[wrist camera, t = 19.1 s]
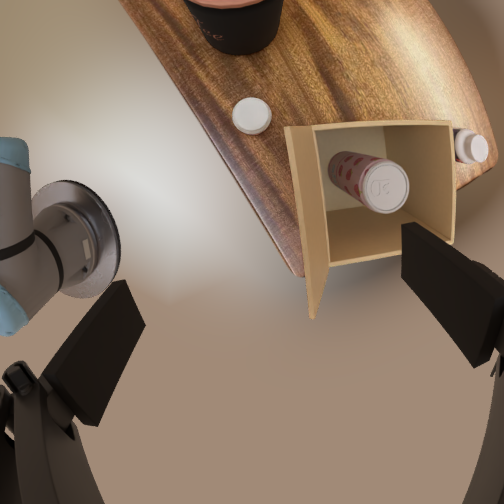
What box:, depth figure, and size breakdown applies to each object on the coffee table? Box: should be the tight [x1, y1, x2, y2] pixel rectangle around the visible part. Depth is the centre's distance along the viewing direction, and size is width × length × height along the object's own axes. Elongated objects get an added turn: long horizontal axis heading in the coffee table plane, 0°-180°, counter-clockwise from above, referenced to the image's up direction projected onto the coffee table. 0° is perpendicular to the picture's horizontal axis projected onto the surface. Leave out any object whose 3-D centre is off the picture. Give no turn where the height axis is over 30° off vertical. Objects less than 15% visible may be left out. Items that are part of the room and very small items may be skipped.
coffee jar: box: [184, 0, 284, 55], centre depth 23 cm, size 11×11×18 cm
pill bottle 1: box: [232, 97, 272, 135], centre depth 33 cm, size 5×5×8 cm
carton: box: [311, 120, 456, 267], centre depth 31 cm, size 15×13×18 cm
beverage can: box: [328, 151, 409, 214], centre depth 32 cm, size 6×6×15 cm
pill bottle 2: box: [453, 128, 488, 164], centre depth 32 cm, size 5×5×10 cm
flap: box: [284, 126, 329, 319], centre depth 20 cm, size 7×13×1 cm
